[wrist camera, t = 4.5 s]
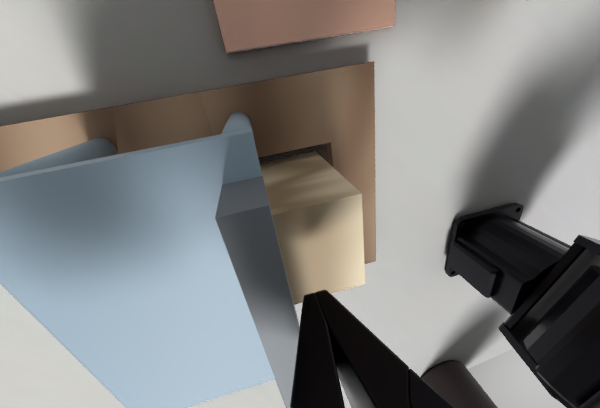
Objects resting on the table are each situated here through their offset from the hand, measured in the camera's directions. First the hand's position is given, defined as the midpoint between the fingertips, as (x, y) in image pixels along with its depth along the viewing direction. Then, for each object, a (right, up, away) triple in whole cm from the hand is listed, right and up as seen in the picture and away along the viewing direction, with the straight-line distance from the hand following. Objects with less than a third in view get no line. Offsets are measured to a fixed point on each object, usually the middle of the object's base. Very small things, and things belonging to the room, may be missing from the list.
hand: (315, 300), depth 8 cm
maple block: (-2, +4, +8) cm, 9 cm away
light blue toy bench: (-6, +2, +6) cm, 9 cm away
